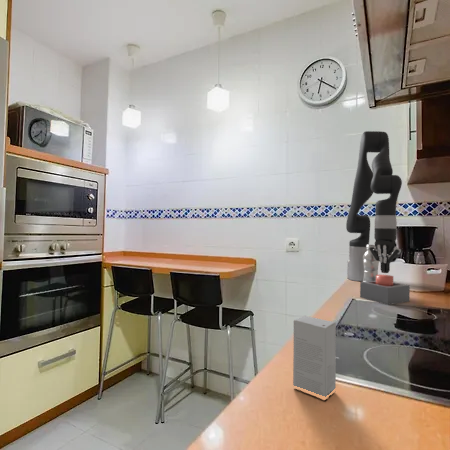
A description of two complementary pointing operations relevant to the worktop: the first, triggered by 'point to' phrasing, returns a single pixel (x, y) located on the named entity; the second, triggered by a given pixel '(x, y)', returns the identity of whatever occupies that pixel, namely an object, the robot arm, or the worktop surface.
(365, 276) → the plastic bottle
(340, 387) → the worktop surface
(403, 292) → the button box
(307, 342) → the skincare box
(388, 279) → the button
